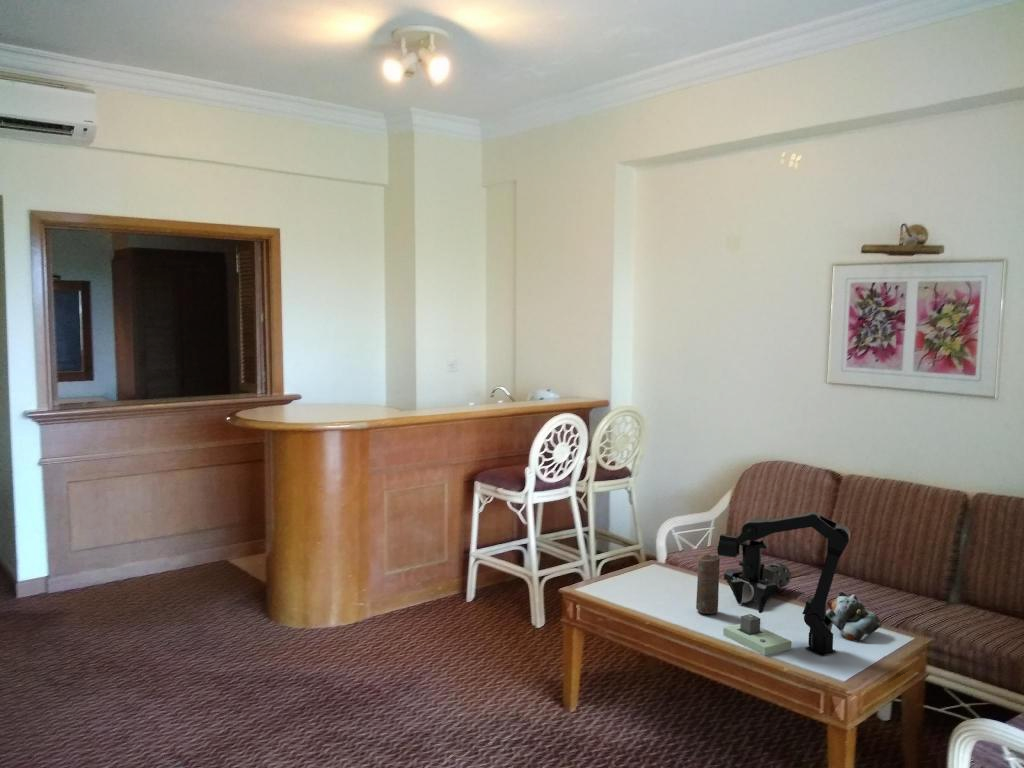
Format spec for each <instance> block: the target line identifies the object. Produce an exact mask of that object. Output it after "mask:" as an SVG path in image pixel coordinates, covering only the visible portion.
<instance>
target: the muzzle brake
mask: <svg viewBox="0 0 1024 768" xmlns="http://www.w3.org/2000/svg"><path fill="white" fill-rule="evenodd" d="M764 568H766V569H769V570H772V571H775V575H774V579H773V581H771V580H769V579H766V578H765V580H763V581H762V580H760V582H767V581H770V582H773V583H775V584H777V585H778V586H779V590H780V589H782V588H784V587H786V586H788V585H789V583H790V581H791V577H792V576H791V572H790V569H789V568H788V567H787V566H786V565H785V564H783V563H781V562H774V563H772V564H770V565H767V566H765V567H764ZM756 593H758V592H757V590H756V587H755V586H753V585H750V584H748V583H745V584H744V586H743V592H742V602H741V603H746V604H753V603H754V601H755V602H757V601H756V600H757V599H756ZM752 602H753V603H752Z"/></svg>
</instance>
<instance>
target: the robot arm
mask: <svg viewBox="0 0 1024 768" xmlns="http://www.w3.org/2000/svg"><path fill="white" fill-rule="evenodd" d="M806 528H812V529H814V530H815V531H816V532H817V533H819V534H820V535H821V536H823V537H824V538H826V539H827V548H826V556H825V560H824V563H823V566H822V570H821V572H820V577H819V579H818V584H817V587H816V590H815V593H814V595H813V596H812V597H810V596H807V598H806V601H805V605H804V606H805V607H804V608H803V612H802V613H801V614H802V615H803V621H804V622H805V624H806V625H807V626H808V627H809V632H808V643H807V644H808V645H807V646H805V650H807V651H809V652H812V653H814V654H817V655H819V656H821V657H824V656H829V655H832V654H837V650H835V649H834V633H833V632H832V628H833V626H834V624H833V621H832V620H831V619H830V618H829V617H828V616H827V615H826V611H827V602H828V597H829V592H830V590H831V587H832V583H833V580H834V576H835V573H836V570H837V567H838V563H839V561H840V558H841V556H842V555H843V552H844V551H845V549H846V547H847V545H848V544H849V541H850V539H851V530H850V529H849V528H848V526H846V525H845V524H841V523H836V522H835V521H833V520H831V519H829V518H827V517H825V516H823V515H821V514H820V513H818V512H816V511H811V512H809V513H804V514H797V515H791V516H786V517H778V518H774V519H771V518H770V519H767V518H750V519H748V520H747V521H746V522H745V523H744V524H743V525H742V528H741V532H739V534H738V535H737V536H735V535H727V534H723V533H721V534H720V535H719V540H718V543H717V544H718V545H717V550H716V551H717V556H719V557H726V558H733V559H737V558H738V556H741V554H742V556H741V557H742V558H741V559H742V560H741V561H739V563H738V565H739V567H741V569H739V568H733V569H732V568H731V569H727V570H725V572H724V573H723V580H725V581H726V583H727V584H728V586H729V587H730V590H731V591H732V594H733V596H734V597H735V600H736V603H737V604H738V605H741V604H742V603H743V602H742V592H743V586H744V584H745V583H748V584H750V585H753V586H755V587H756V590H757V592H758V593H756V599H757V601H756V604H757V605H756V606H757V610H758V613H759V614H763V612H764V610H765V607H766V605H767V603H768V601H769V599H770V598H771V597H772V596H775V595H778V594H780V589H779V586H778V585H777V584H775V583H773V582H770V581H767V582H760V580H762V581H763V580H765V578H766V579H769V580H771V581H773V579H774V575H775V571H772V570H769V569H766V568H764V567H766V566H765V564H764V563H762V553H763V552H762V549H767V548H768V547H769V543H767V541H766V540H765V539H764V538H765V537H767V536H769V535H772V534H777V533H782V532H788V531H794V530H799V529H806ZM760 539H761V540H760Z"/></svg>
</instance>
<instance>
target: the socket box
mask: <svg viewBox="0 0 1024 768" xmlns="http://www.w3.org/2000/svg"><path fill="white" fill-rule="evenodd" d="M740 625H741V623H738V624H737V623H736V624H734V625H729V626H723V628H722V630H723V631H722V632H723V636H724V637H726V638H728V639H730V640H732V641H734V642H737V643H738V644H741V645H743V646H744V647H747V648H748V649H751V650H753V651H755V652H757V653H759V654H761V655H763V656H767V655H768V656H770V655H772V654H777V653H781V652H786V651H790V650H792V648H793V647H792V645H793V644H792V643H793V642H792V640H790V639H788V638H786V637H783V636H781V635H779V634H777V633H775V632H772V631H770V630H768V629H766V628H764V627H761V626H760V633H759V634H755V635H750V636H749V635H747V634H745V633H743V632H741V631H740Z"/></svg>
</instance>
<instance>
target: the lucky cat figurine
mask: <svg viewBox="0 0 1024 768" xmlns="http://www.w3.org/2000/svg"><path fill="white" fill-rule="evenodd" d="M826 615H827V616H828V617H829V618H830V619H831V620H832V621H833V626H835V627H836V628H837V629H838V631H840V633H841V634H842V635H843V637H844V638H845V639H847V640H848V641H853V642H857V641H858V642H860V641H863V640H864V639H867V638H868V637H869V636H870V635H871V634H873V633H874V632H875V631H877V630H878V629H879V628H881V627H882V626H883V623H882V621H881V619H880V618H879V616H878V615H877V614H876V613H875V612H873V611H871V610H867V609H866V607H865V605H864V604H863V603H862V601H860V600H859V599H858V597H857V595H856V594H851V595H850V596H848V595H847V594H845V592H842V591H841V592H839V593H838V595H837V597H836V598H835V599H834V600H833V601H828V600H827V609H826Z"/></svg>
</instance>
